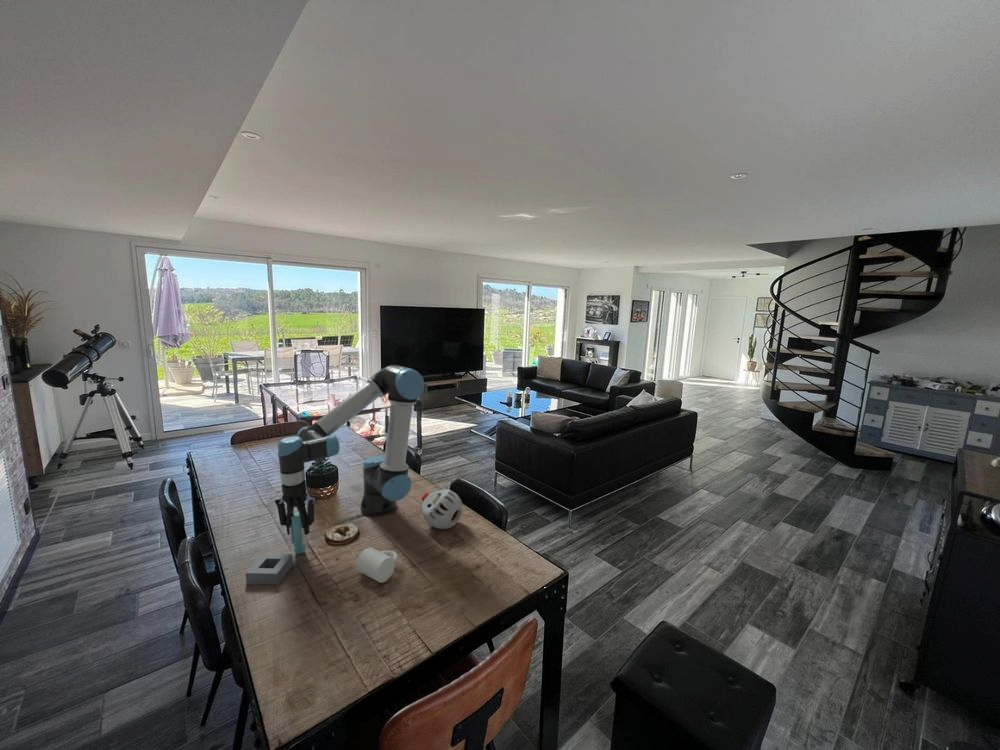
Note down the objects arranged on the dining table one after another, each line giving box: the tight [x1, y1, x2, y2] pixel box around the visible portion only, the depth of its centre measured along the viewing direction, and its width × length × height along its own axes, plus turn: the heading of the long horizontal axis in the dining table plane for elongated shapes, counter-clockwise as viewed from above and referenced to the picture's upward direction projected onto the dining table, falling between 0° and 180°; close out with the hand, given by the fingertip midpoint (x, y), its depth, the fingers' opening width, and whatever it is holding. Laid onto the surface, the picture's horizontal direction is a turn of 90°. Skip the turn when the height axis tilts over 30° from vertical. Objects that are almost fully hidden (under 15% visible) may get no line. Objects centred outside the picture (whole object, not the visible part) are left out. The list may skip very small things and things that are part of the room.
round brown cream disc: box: [324, 522, 360, 546], centre depth 156 cm, size 15×15×4 cm
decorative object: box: [421, 489, 464, 530], centre depth 165 cm, size 15×19×15 cm
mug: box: [356, 547, 399, 584], centre depth 136 cm, size 12×10×8 cm
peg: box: [291, 512, 307, 555], centre depth 143 cm, size 4×4×14 cm
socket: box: [245, 553, 294, 586], centre depth 133 cm, size 10×10×4 cm
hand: (299, 541), depth 144 cm, fingers closed on peg, 3 cm apart
